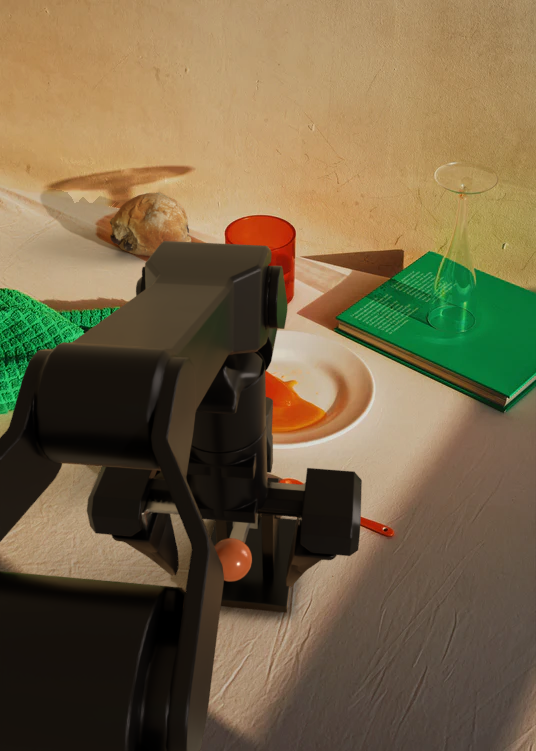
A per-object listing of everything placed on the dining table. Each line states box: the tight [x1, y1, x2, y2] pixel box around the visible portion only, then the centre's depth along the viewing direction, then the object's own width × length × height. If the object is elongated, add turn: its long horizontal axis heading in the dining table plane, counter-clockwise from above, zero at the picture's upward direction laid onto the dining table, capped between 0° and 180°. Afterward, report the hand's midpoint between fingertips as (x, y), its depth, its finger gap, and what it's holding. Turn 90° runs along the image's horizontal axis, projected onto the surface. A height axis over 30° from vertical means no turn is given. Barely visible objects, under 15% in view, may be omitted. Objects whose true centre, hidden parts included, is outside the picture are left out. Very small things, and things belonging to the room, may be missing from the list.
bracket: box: [210, 477, 297, 614], centre depth 66 cm, size 10×8×9 cm
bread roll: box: [109, 191, 192, 257], centre depth 119 cm, size 12×13×10 cm
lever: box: [214, 514, 261, 581], centre depth 60 cm, size 12×3×3 cm, turn 173°
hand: (231, 575), depth 57 cm, fingers open, 9 cm apart
